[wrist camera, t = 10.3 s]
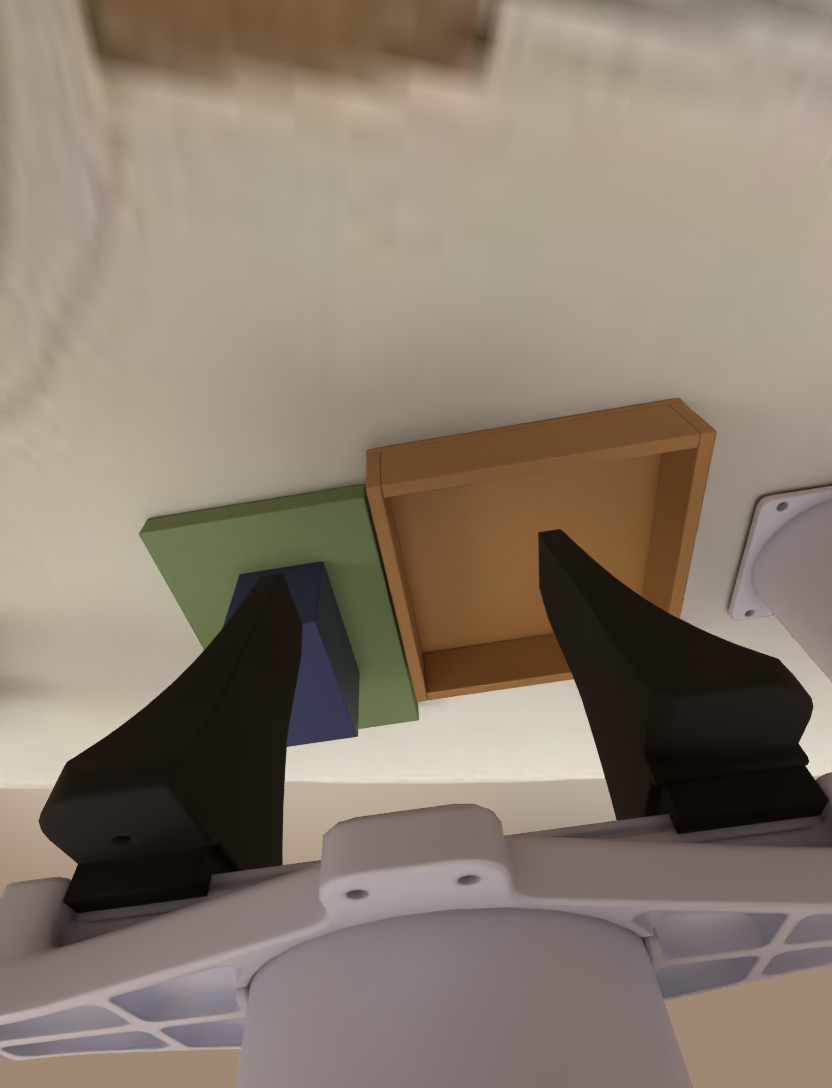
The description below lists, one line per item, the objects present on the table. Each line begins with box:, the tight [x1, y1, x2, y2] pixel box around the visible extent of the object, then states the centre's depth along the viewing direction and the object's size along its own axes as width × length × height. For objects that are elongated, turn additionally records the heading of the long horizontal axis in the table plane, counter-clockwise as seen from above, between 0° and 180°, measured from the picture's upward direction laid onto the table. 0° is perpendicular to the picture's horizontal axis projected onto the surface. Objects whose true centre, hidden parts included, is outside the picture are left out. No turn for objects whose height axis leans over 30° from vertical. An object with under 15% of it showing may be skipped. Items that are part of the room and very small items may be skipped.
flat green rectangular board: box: [139, 484, 419, 729], centre depth 29 cm, size 10×16×1 cm, turn 9°
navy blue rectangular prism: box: [223, 561, 360, 747], centre depth 26 cm, size 4×8×4 cm, turn 9°
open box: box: [366, 398, 716, 702], centre depth 25 cm, size 13×13×3 cm
